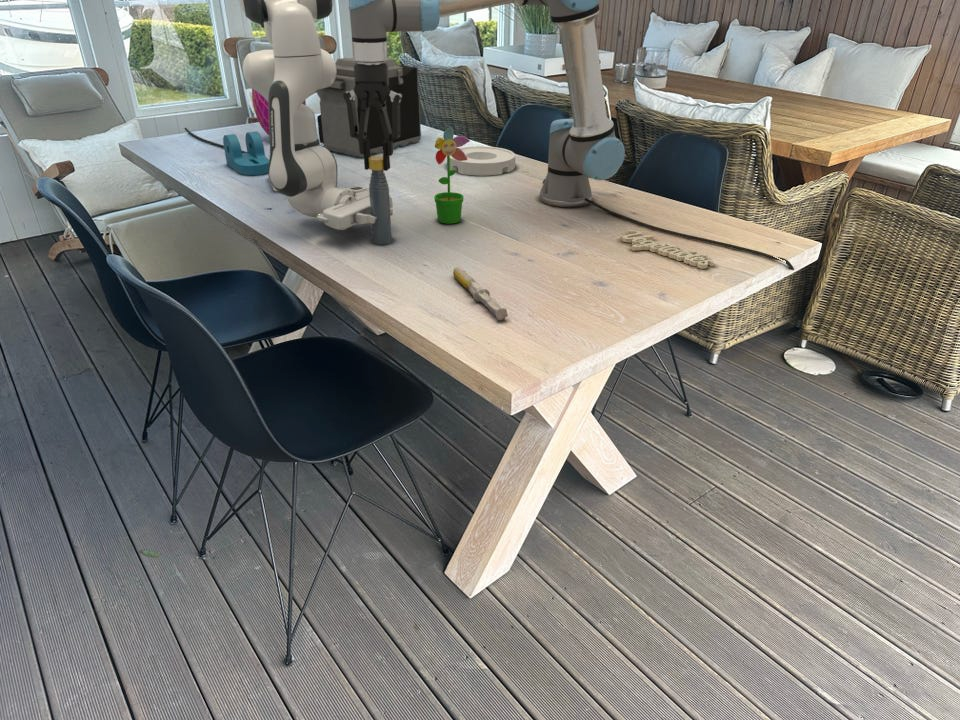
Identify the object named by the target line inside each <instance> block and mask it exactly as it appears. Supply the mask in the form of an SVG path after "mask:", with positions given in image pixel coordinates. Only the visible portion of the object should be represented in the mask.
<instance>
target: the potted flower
mask: <svg viewBox="0 0 960 720" xmlns="http://www.w3.org/2000/svg"><path fill="white" fill-rule="evenodd" d="M454 135H455V131H454V128H453V127H452V126H449V127H447V128H446V129H445V130H444V131H443V138H442V137H437V139H436V141H435V143H434V148H435V149H436V150H438V151H437V152H436V153H435V161H436V163H437V164H438V165H442V163H443V162H444V161H445V160H446V159H447V160H446V167H447V168H446V169H447V171H446V172H447V173H446V174H447V177H446V176H442V177H440V178H438V183H440V184H441V185H447V191H445V192H438V193H437V194H435V195H434V196H433V198H434V199H433V200H434V202H435V208H436V214H437V221H438V222H439V223H441V224H445V225H446V224H449V225H450V224H451V225H452V224H456V223H459V222H461V218H462V208H463V202H464V195H463V194H462V193H459V192H455V191H454V192H453V191H452V192H451V177H452V176H454V175H455V174H456V173H457V171H456V170H450V156H452V157H453V158H454V159H456V160H458V161H464V160H467V157H466V155H465V154H464V152H463V151H462V150H460V149H459V148H462V147H463V146H465V145H467V143H470V142H471V140H470V139H469V138H468V137H467V136H464V135H457V136H454Z"/></svg>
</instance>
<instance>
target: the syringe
mask: <svg viewBox="0 0 960 720" xmlns="http://www.w3.org/2000/svg"><path fill="white" fill-rule="evenodd" d="M452 274H453V277H454V279H455V280H457V281H458V282H459V283H460V285H462V287H464V289H466V290H467V291H468V293H470V295H471V296H472V298H473V300H474V302H477V303H478V302H480V303H482V304H483V305H484V306H485V307H486V308H487V309H488V310H489V311H490V312H491V313H492V314H493V315H494V316H495V317H496V320H497V321H503V320H504V319H506V318H507V317H509V314H508V310H507V308H506V307H502V306H501V305H500V303H498V302H497V301H496V300H494V299H493V298H492V297H491V296H490V295H491V293H490V290H488V289H486V288H483V287H482V286H481V285H480V284H479V283H478V282H477V281H476V280H474V278H473V277H471V275H469V274H468V273H467V272H466V270H465V269H464V268H463V267H462V266H456V267H454V268H453V271H452Z"/></svg>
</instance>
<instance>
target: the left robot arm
mask: <svg viewBox="0 0 960 720" xmlns="http://www.w3.org/2000/svg"><path fill="white" fill-rule="evenodd" d="M238 4H239V6H240V8H241V10H242V12H243V13H244V15H245V18H247V19H249V20H250V21H251V22H252V23H255V24H257V25H260V27H261V28H262V29H264V34H265V38H266V40H267V42H268V43H269V45H270V46H271V47H272V49H262V50H256V51H253V52H249V53H247V55H246V56H245V58H244V59H243V61H242V74H243V75H242V76H243V78H244V80H245V82H246V83H247V85H248V86H249V87H250V88H251V89H252V88H253V89H254V90H255V91H257V92H258V93H260V94H261V95H262V96H263V97H264V98H265V99H266V100H267V101H268V113H269V135H268V137H269V138H268V139H269V158H268V159H269V166H268V173H267V174H268V181H269V183H270V185H271V187H272V189H273V191H274V192H275V193H276V192H279V193H280V194H281V195H284V196H286V199H287V202H288V204H289V205H290V207H291V208H292V209H293V210H294V211H296V212H297V213H299V214H302V215H304V216H307V217H311V218H314V219H317V221H319V222H323V224H324V225H325V226H327V227H330V228H332V229H335V230H339V231H343V230H347V229H349V228H352V227H354V226H356V225H359V224H371V223H372V224H373V223H375V222H377V216H376V215H373V214H371V212H370V198H369V189H367V187H365V186H354V187H337V185H338V163H337V159H336V157H335V155H334V154H333V153H332V151H330V150H328V149H327V148H325V147H324V145H321V143H320V139H319V137H318V130H317V122H316V115H315V112H314V110H312V109H311V108H310V107H309V106H308V105H304V104H302V103H303V102H304V101H305V100H307V99H308V98H310V97H311V96H312V95H314V94H315V93H316V90H319V89H323V88H327V87H330V86H331V85H332V84H333V83H334V81H335V78H336V73H337V69H336V64H335V63H336V61H335V60H334V58H333V56H332V55H331V53H329V52H328V51H326V50H324V49H323V48H321V43H320V37H319V34H318V29H317V25H316V22H315V19H316V20H317V21H318V20H322V19H326V18H328V17H329V16H330V15H331V13H332V12H333V6H334V0H238ZM184 130H185V132H186V133H188V134H189V135H190V136H192V137H193V138H195V139H198V140H199V141H202V142H203V143H208V144H210V145H214V146H217V147H220V148H223V149H224V144H220V143H218V142H217V143H216V142H214V141H211V140H207V139H205V138H202V137H201V136H198V135H196V134H194V133H192V132H191V131H190V130H189V129H188V127H184ZM242 153H247V151H245V150H242ZM389 199H390V217H391V216H393V215H394V209H393V197H392V195H390V194H389Z"/></svg>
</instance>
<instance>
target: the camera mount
mask: <svg viewBox="0 0 960 720" xmlns="http://www.w3.org/2000/svg"><path fill="white" fill-rule="evenodd" d="M222 140H223V141H222V143H223V144H222V145H224V148H223V149H224V150H223V151H224V156H225V161H226V165H227V166H228V167H230V168H231V169H232V170H234V171H236V172H237V173H238V174H239V175H244V176H260V175H265V174H268V166H269V159H270V158H268V157H267V156H266V153H265V145H264V141H263V139H262V136H261V134H260V132H258V131H247V132H246V133H245V146H246V152H247V153H242V151H243V149H242V146H241V142H240V140H239V138H238V135H236V134H235V133H231V134H224V135H223V138H222Z"/></svg>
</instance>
